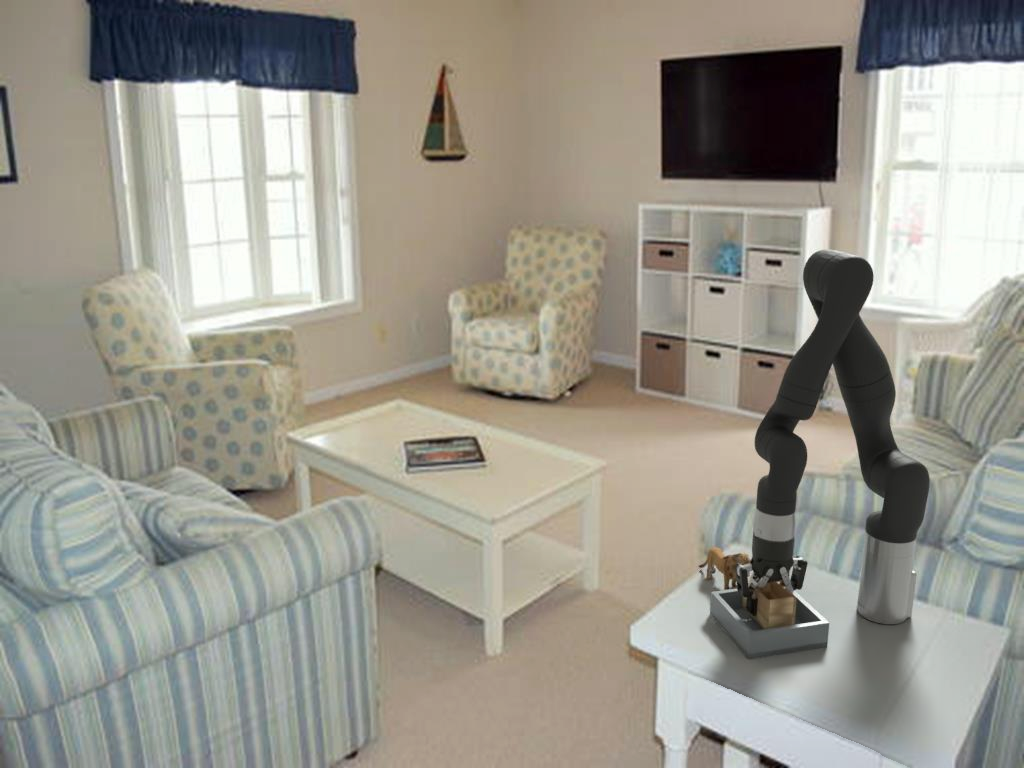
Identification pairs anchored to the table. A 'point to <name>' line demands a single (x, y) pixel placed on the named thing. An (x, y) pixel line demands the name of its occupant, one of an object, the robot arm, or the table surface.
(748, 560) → the lion figurine
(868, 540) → the robot arm
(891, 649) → the table surface
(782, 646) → the grey square tray
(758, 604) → the small oak crate
